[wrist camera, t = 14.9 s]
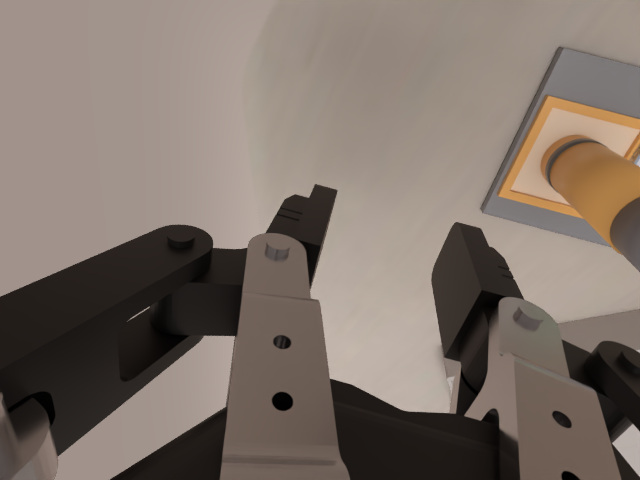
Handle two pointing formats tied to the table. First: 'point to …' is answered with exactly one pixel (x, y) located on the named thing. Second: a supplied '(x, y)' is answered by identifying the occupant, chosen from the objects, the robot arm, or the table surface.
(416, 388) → the table surface
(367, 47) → the table surface
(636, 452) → the power supply unit
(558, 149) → the orange marker
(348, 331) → the table surface
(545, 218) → the picture board
